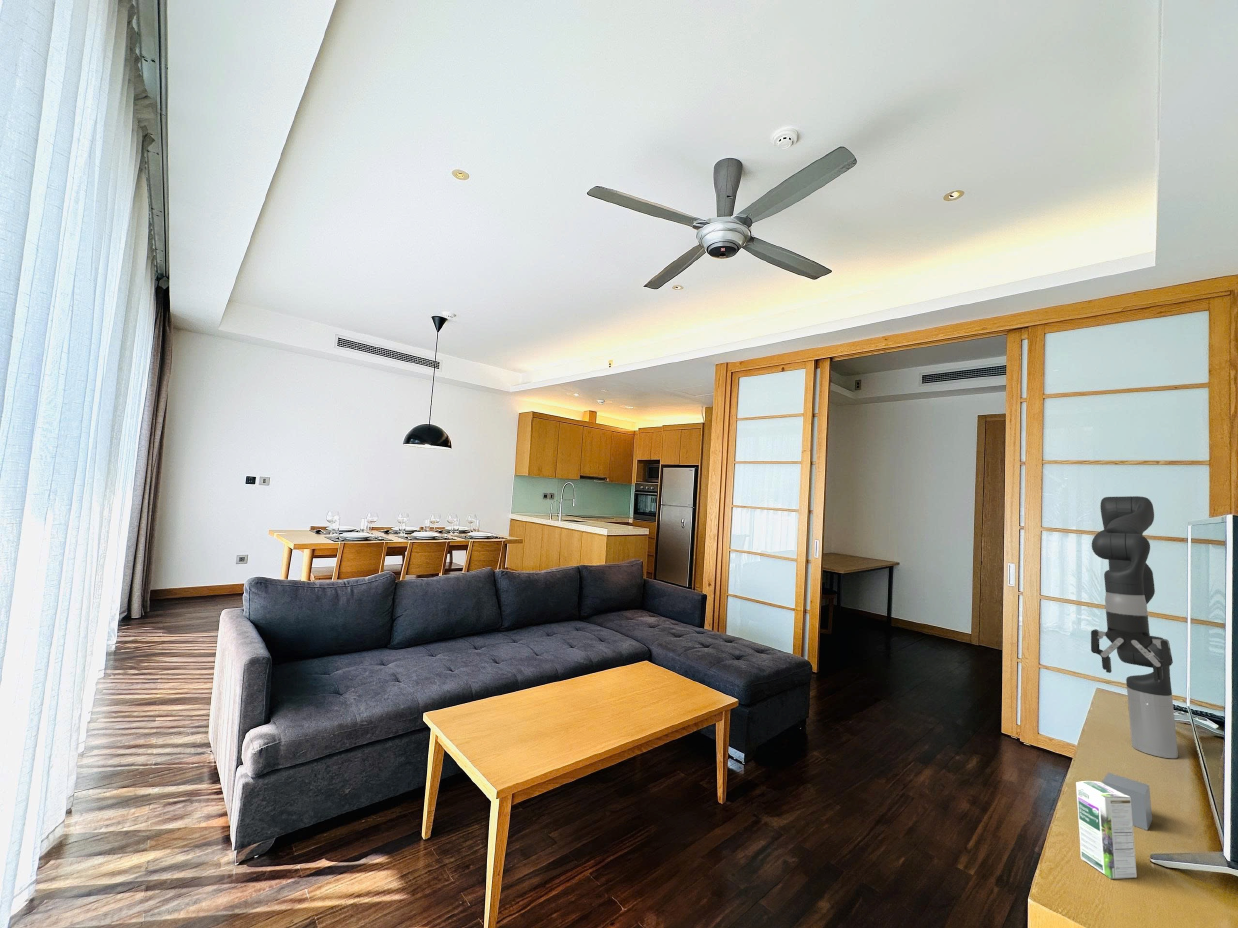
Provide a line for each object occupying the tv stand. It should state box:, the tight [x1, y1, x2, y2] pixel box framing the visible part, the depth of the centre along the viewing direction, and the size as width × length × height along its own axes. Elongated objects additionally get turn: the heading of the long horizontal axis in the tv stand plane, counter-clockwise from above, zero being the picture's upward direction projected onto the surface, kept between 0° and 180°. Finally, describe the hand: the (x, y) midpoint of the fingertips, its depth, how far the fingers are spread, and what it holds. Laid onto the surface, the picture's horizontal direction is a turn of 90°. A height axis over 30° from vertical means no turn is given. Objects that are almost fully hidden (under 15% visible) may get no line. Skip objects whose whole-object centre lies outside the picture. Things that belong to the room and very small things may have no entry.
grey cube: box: [1101, 772, 1153, 831], centre depth 111 cm, size 7×7×7 cm
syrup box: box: [1075, 780, 1138, 880], centre depth 95 cm, size 6×6×14 cm
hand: (1132, 676), depth 124 cm, fingers open, 8 cm apart
